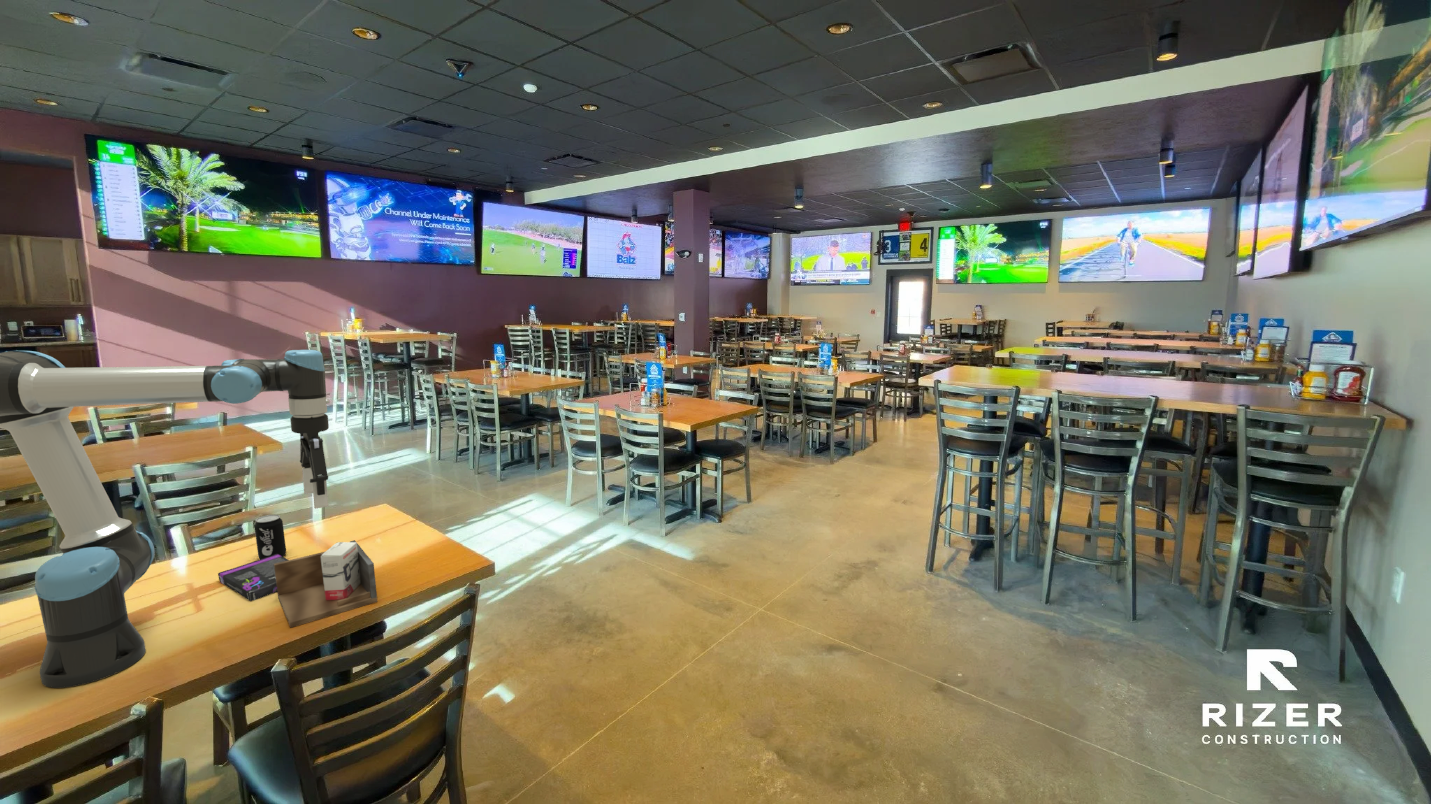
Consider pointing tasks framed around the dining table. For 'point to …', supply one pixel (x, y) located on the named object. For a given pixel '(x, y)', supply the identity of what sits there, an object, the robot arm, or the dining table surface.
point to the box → (253, 578)
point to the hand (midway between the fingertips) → (315, 499)
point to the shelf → (319, 589)
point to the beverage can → (270, 536)
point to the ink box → (340, 570)
